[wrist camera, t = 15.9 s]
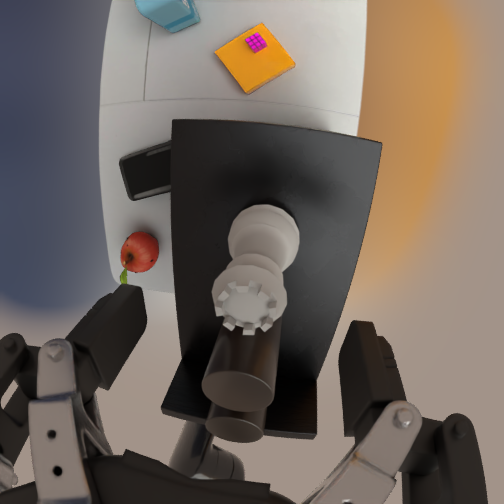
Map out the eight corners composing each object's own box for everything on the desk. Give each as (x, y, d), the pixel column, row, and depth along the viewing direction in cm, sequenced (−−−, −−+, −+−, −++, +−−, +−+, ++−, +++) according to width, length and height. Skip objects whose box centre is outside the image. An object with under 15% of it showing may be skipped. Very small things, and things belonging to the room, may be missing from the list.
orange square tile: (295, 66, 32) (295, 60, 29) (248, 94, 35) (243, 91, 31) (263, 27, 30) (260, 17, 26) (218, 55, 33) (210, 48, 29)
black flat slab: (313, 378, 25) (313, 440, 19) (186, 358, 27) (162, 414, 20) (377, 141, 16) (425, 155, 9) (178, 119, 17) (118, 122, 10)
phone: (210, 182, 41) (129, 202, 44) (212, 181, 42) (133, 200, 45) (198, 132, 37) (117, 158, 41) (200, 131, 38) (120, 157, 42)
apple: (128, 230, 48) (97, 255, 39) (156, 219, 46) (127, 243, 37) (145, 266, 51) (119, 295, 42) (174, 258, 49) (150, 288, 40)
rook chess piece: (229, 260, 19) (193, 340, 12) (233, 197, 17) (191, 254, 10) (293, 270, 19) (290, 357, 12) (305, 207, 17) (312, 273, 10)
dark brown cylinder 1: (257, 335, 22) (241, 418, 15) (219, 305, 21) (188, 387, 14) (293, 308, 20) (289, 397, 13) (254, 275, 20) (231, 360, 13)
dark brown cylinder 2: (252, 372, 24) (237, 446, 17) (219, 349, 24) (194, 425, 16) (283, 353, 23) (275, 435, 16) (248, 328, 22) (229, 411, 15)
